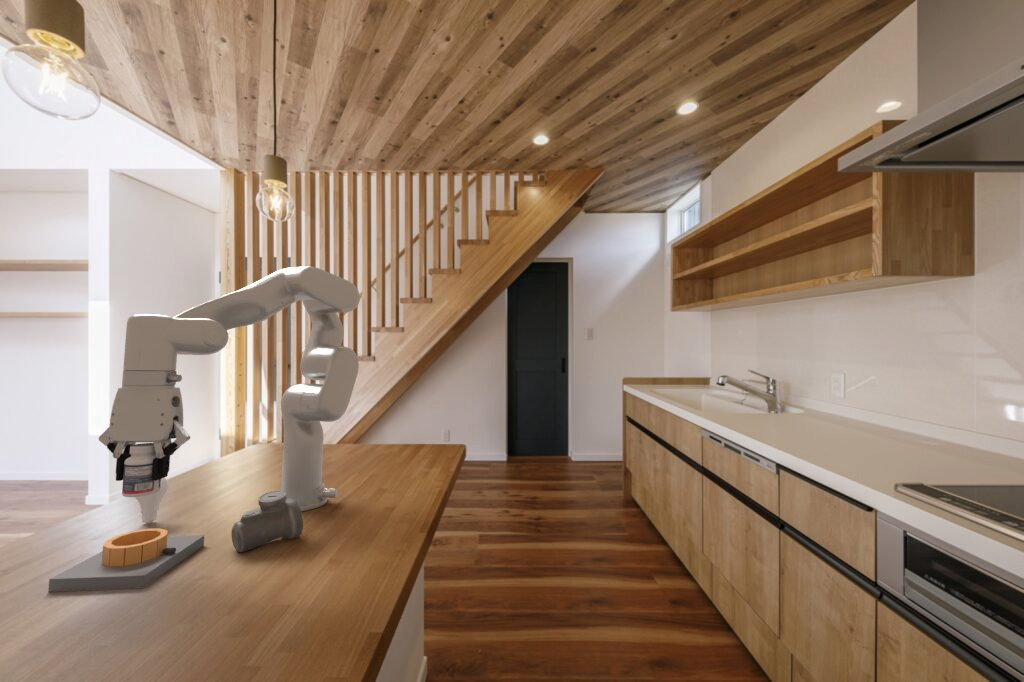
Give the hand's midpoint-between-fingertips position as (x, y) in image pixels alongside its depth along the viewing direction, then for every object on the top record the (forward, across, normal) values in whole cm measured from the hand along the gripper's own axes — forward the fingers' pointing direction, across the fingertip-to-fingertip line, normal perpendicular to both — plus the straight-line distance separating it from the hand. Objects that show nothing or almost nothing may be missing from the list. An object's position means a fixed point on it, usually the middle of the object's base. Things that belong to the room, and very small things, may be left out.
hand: (142, 477), depth 77 cm
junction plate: (+16, 0, 0) cm, 16 cm away
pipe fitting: (+16, -19, -8) cm, 26 cm away
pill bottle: (+3, 0, 0) cm, 3 cm away
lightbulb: (+16, +12, -21) cm, 29 cm away
